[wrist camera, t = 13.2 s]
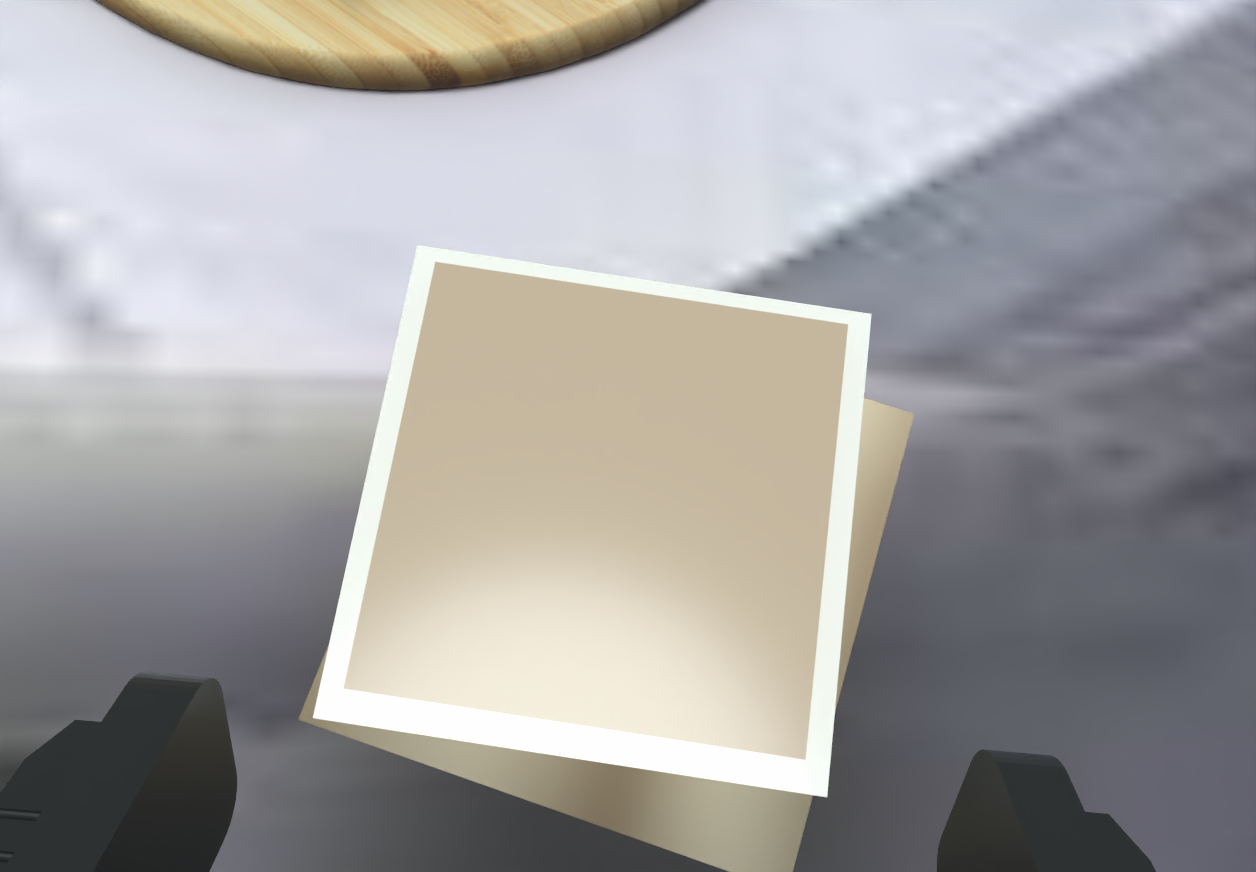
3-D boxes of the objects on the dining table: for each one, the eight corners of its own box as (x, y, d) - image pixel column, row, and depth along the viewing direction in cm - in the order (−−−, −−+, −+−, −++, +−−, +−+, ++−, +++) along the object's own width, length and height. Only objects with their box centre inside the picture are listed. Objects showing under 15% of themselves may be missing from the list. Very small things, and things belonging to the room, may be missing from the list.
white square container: (445, 696, 21) (298, 720, 10) (495, 432, 22) (410, 227, 12) (718, 738, 21) (837, 802, 10) (751, 471, 22) (882, 299, 12)
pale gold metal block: (354, 712, 25) (297, 719, 20) (499, 343, 28) (479, 272, 23) (749, 850, 25) (787, 892, 20) (857, 461, 28) (914, 414, 23)
